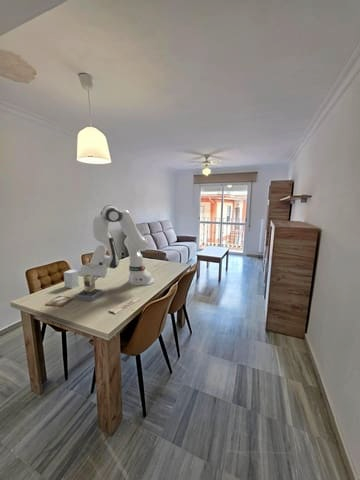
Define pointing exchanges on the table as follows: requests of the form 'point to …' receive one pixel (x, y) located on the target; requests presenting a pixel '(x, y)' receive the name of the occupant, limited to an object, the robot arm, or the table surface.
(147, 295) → the table surface
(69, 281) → the supplement box
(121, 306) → the newspaper
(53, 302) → the walnut board
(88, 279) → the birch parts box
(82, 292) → the charcoal bin
